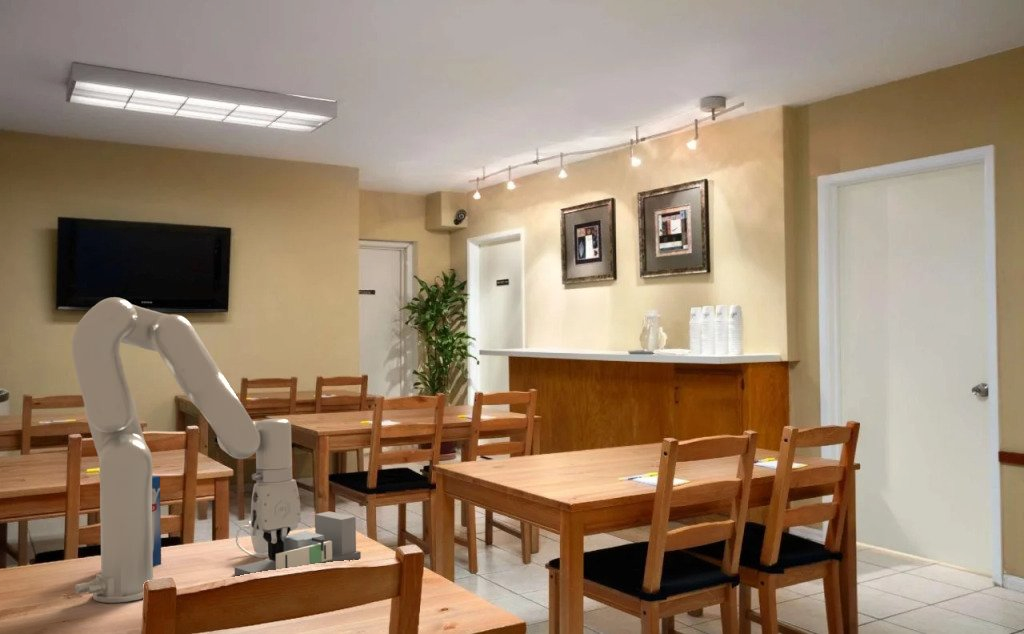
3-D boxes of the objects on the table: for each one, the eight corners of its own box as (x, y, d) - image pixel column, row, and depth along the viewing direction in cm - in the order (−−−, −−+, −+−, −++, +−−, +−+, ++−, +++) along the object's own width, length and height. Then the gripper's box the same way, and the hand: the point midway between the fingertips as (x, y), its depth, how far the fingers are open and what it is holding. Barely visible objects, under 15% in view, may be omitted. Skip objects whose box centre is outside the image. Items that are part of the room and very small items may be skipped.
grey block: (305, 566, 181) (305, 542, 181) (274, 557, 189) (274, 534, 189) (334, 558, 187) (333, 535, 187) (303, 550, 194) (302, 528, 195)
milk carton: (120, 574, 184) (119, 483, 185) (104, 570, 188) (103, 481, 188) (161, 563, 193) (160, 476, 193) (145, 560, 196) (144, 474, 196)
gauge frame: (266, 584, 175) (265, 538, 175) (234, 574, 183) (233, 530, 183) (361, 558, 194) (360, 516, 194) (328, 550, 202) (328, 510, 202)
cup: (275, 558, 195) (274, 523, 195) (231, 559, 195) (231, 524, 195) (282, 550, 202) (282, 517, 202) (240, 552, 202) (240, 518, 202)
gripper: (253, 482, 176) (255, 570, 176) (313, 472, 187) (314, 555, 187) (234, 479, 181) (236, 564, 181) (293, 469, 192) (295, 549, 192)
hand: (276, 559), depth 184 cm, fingers closed
